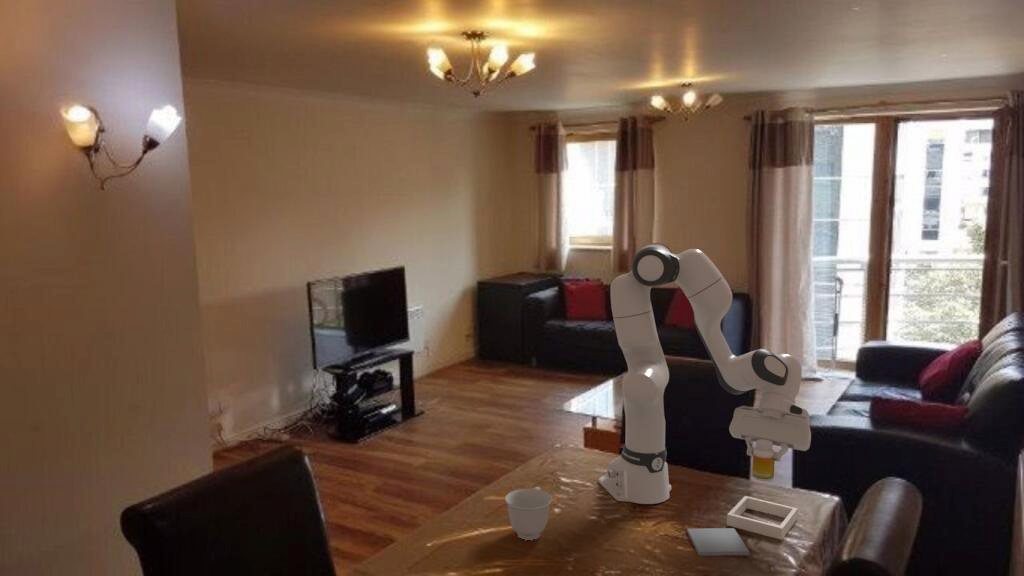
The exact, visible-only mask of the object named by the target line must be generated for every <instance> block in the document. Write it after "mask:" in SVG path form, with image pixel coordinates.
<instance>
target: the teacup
mask: <svg viewBox="0 0 1024 576" xmlns="http://www.w3.org/2000/svg"><path fill="white" fill-rule="evenodd" d="M504 502H505V503H506V504H507V509H508V516H509V517H508V518H509V523H510V526H511V528H512V530H513V531H514V532H515V533H517V534H516V535H518V536H517V537H518V538H519V537H520V538H522V539H525V540H524V541H527V540H531V541H534V540H533V539H535V540H538V539H539V538H540V537H539V536H541V534H540V533H542V532H543V531H544V530H545V529H546V527H547V523H548V516H549V511H550V505H551V503H553V497H552V495H551V494H549V493H548V492H547V491H544V490H543V489H541V487H540V486H535V487H534V488H520V489H519V488H518V489H515V490H512V491H510V492H509V493H507V494H506V495H505V497H504ZM520 538H519V539H520ZM522 539H521V540H522Z"/></svg>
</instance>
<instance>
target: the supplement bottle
mask: <svg viewBox="0 0 1024 576" xmlns="http://www.w3.org/2000/svg"><path fill="white" fill-rule="evenodd" d="M772 444H773V443H772V442H771V441H769V440H765V439H759V440H757V441H756V442H755V446H756V447H754V450H753V456H752V469H751V470H752V471H751V475H752V478H753V479H754V480H756V481H758V482H759V481H760V482H771V481H773V480H774V478H775V463H776V461H774V459H773V456H774V452H775V450H773V445H772Z"/></svg>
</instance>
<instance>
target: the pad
mask: <svg viewBox="0 0 1024 576" xmlns="http://www.w3.org/2000/svg"><path fill="white" fill-rule="evenodd" d="M686 533H687V535H688V537H689V539H690V541H691V543H692V545H693V547H694V546H695V547H694V549H695V551H696V552H697V555H698V556H699V557H700V556H705V557H706V556H707V557H709V556H717V557H718V556H750V550H749V549H748V546H746V544H745V543H744V540H742V538H741V537H740V535H739V533H738V532H737V531H736V529H735V527H731V528H729V527H728V528H727V527H720V528H717V527H714V528H713V527H712V528H710V527H709V528H706V527H705V528H701V527H700V528H686Z"/></svg>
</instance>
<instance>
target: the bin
mask: <svg viewBox="0 0 1024 576" xmlns="http://www.w3.org/2000/svg"><path fill="white" fill-rule="evenodd" d="M747 509H749V510H753V511H757V512H761V513H764V514H768V513H769V514H768V515H772V514H773V515H772V516H776V515H777V517H780V518H783V521H782V522H781V523H780V525H778V524H777V525H776V524H773V523H769V522H765V521H761V520H758V519H754V518H751V517H750V518H749V517H746V516H742V515H743V513H744V512H745V511H746V510H747ZM798 509H799V508H797V507H793V506H790V505H786V504H785V505H784V504H780V503H777V502H773V501H772V502H771V501H769V500H765V499H760V498H755V497H751V496H747V495H744V496H743V497H742V498H741V499H740V500H739V501H738V502H737V504H736V505H735V506H733V508H731V509H730V511H729V512H728V513H727V514H726V515H727V517H726V526H729V527H731V528H734V529H735V528H736V529H740V530H744V531H748V532H752V533H754V534H758V535H762V536H767V537H770V538H774V539H776V540H780V541H781V540H783V539H784V538H785V536H786V535H787V534H788V532H789V531H790V530H791V528H792V527H793V526H794V525H795V523H796V522H797V520H798V513H799V510H798Z"/></svg>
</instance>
